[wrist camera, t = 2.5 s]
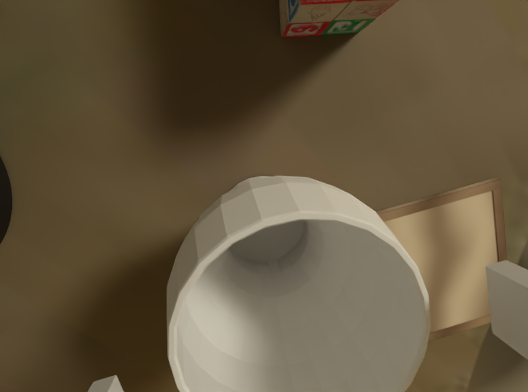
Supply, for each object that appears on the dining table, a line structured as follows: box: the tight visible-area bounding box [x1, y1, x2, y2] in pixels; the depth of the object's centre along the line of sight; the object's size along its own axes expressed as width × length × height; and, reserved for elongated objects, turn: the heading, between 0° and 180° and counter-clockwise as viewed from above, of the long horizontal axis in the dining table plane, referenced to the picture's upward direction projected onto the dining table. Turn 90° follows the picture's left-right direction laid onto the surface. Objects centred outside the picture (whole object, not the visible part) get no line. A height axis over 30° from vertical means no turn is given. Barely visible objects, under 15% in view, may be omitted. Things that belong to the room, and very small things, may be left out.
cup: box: [167, 176, 431, 392], centre depth 18 cm, size 11×11×15 cm
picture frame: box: [376, 178, 507, 342], centre depth 27 cm, size 14×14×1 cm
